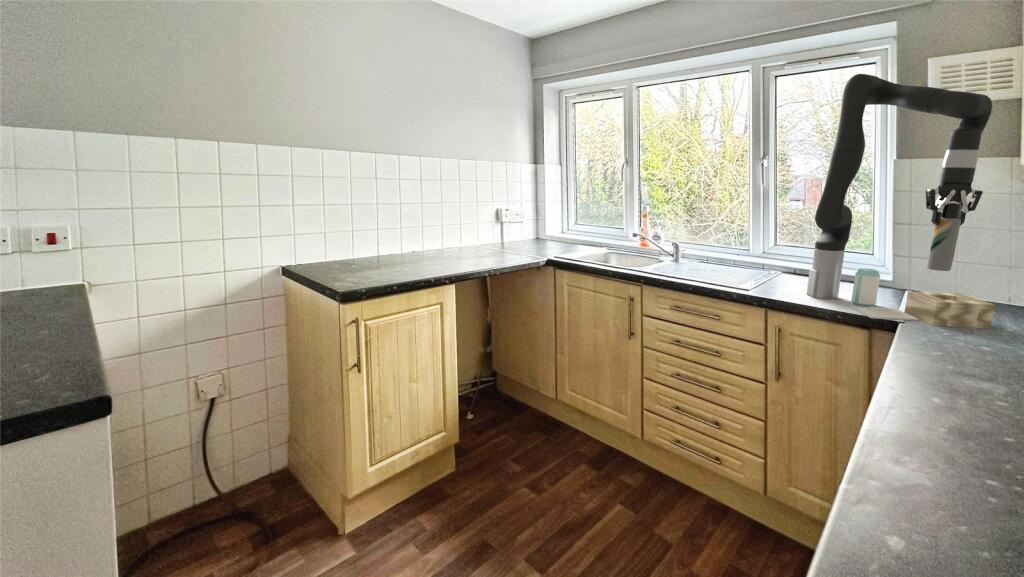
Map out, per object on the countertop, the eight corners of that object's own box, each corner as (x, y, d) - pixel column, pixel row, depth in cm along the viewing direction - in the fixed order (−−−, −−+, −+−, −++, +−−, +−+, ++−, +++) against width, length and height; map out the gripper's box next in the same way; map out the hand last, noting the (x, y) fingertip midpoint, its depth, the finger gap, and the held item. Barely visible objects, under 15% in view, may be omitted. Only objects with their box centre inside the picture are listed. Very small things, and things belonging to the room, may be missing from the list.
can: (861, 301, 184) (866, 267, 182) (880, 305, 178) (886, 270, 175) (846, 302, 182) (851, 268, 180) (865, 307, 175) (870, 271, 173)
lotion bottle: (945, 268, 160) (959, 202, 156) (954, 271, 155) (968, 203, 151) (923, 267, 162) (936, 201, 158) (931, 270, 157) (944, 202, 153)
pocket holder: (932, 325, 154) (936, 302, 153) (904, 312, 168) (907, 291, 167) (990, 328, 151) (995, 304, 150) (956, 315, 166) (961, 293, 164)
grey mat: (871, 318, 161) (871, 316, 161) (852, 308, 174) (852, 306, 174) (918, 320, 159) (919, 319, 159) (895, 310, 172) (896, 308, 171)
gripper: (939, 165, 150) (927, 225, 153) (996, 166, 147) (983, 227, 151) (923, 166, 157) (912, 222, 161) (977, 167, 155) (965, 224, 158)
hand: (947, 224), depth 156 cm, fingers closed on lotion bottle, 5 cm apart
